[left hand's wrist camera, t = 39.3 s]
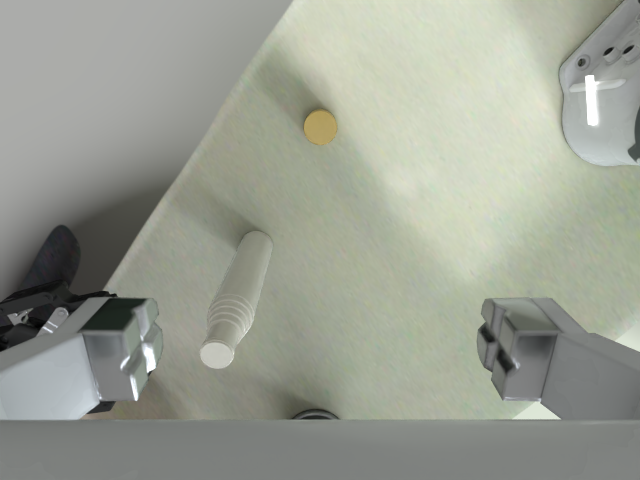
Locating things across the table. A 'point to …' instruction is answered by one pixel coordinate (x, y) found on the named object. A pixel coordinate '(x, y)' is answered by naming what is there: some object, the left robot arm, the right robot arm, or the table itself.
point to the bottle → (236, 300)
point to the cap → (320, 127)
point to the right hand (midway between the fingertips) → (131, 338)
